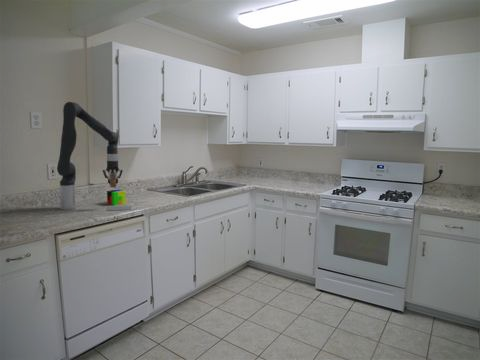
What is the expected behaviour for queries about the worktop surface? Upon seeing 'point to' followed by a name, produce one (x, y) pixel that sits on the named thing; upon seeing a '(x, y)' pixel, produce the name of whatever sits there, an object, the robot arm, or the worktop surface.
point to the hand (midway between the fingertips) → (113, 183)
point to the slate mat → (119, 208)
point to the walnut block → (112, 179)
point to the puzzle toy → (116, 197)
